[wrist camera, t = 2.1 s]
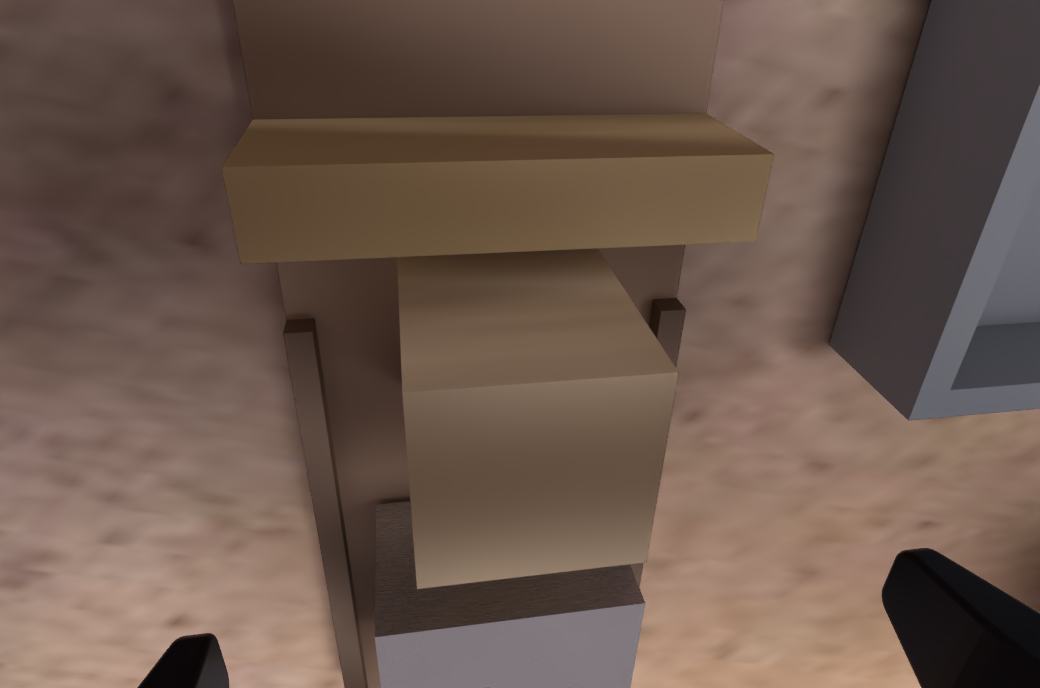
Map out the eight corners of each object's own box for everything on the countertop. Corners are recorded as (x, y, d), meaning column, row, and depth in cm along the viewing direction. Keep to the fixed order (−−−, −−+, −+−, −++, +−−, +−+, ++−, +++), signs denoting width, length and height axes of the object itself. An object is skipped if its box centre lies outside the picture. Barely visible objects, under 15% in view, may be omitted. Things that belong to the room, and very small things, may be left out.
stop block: (569, 374, 17) (646, 562, 12) (406, 386, 17) (417, 588, 12) (580, 222, 15) (679, 372, 10) (395, 229, 15) (402, 392, 10)
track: (610, 636, 25) (646, 749, 21) (351, 670, 23) (346, 797, 20) (708, -37, 14) (812, -24, 11) (235, -48, 13) (181, -36, 9)
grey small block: (585, 603, 22) (622, 729, 18) (389, 628, 21) (391, 765, 17) (598, 482, 19) (645, 603, 16) (376, 504, 18) (374, 637, 15)
